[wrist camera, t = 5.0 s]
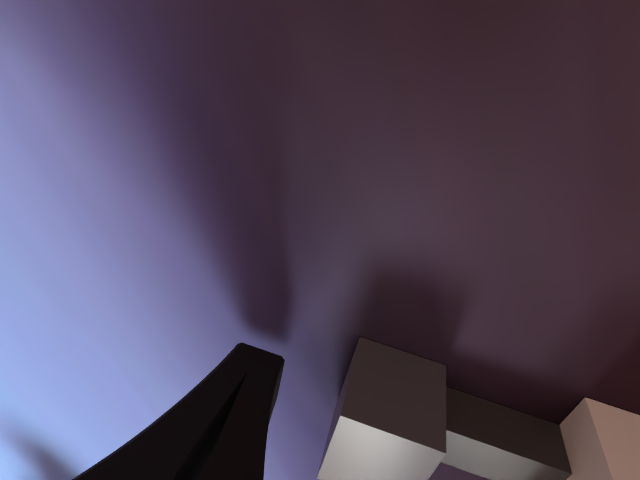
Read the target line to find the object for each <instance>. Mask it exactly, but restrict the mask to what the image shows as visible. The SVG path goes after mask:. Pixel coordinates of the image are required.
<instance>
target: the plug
mask: <svg viewBox="0 0 640 480" xmlns="http://www.w3.org/2000/svg"><path fill="white" fill-rule="evenodd" d="M440 462H442V463H445V464H448V465H450V466H453V467H456V468H459V469H461V470H464V471H467V472H470V473H472V474H475V475H478V476H481V477H484V478H486V479H489V480H640V415H637V414H634V413H631V412H628V411H625V410H622V409H619V408H616V407H613V406H610V405H607V404H604V403H601V402H598V401H595V400H592V399H589V398H586V397H585V398H584V399H583V400H582V401H581V402H580V403H579V404H578V405H577V406H576V407H575V409H574V410H573V411H572V412H571V413H570V414H569V415H568V416H567V417H566V418H565V419H564V421H563V422H562V423H561V424H560V425H558V424H555V423H552V422H549V421H546V420H543V419H540V418H538V417H535V416H532V415H529V414H526V413H523V412H520V411H517V410H514V409H511V408H508V407H505V406H502V405H499V404H496V403H493V402H490V401H487V400H484V399H481V398H479V397H476V396H473V395H470V394H467V393H464V392H461V391H458V390H455V389H452V388H449V387H446V365H443V364H440V363H437V362H434V361H431V360H428V359H425V358H422V357H419V356H416V355H413V354H410V353H407V352H404V351H401V350H398V349H395V348H392V347H389V346H386V345H383V344H380V343H377V342H374V341H371V340H368V339H365V338H362V337H359V340H358V343H357V346H356V349H355V351H354V354H353V357H352V360H351V363H350V366H349V369H348V371H347V374H346V377H345V380H344V383H343V386H342V388H341V391H340V394H339V397H338V400H337V404H336V408H335V411H334V415H333V419H332V423H331V427H330V430H329V434H328V438H327V442H326V446H325V449H324V453H323V457H322V461H321V465H320V468H319V472H318V476H317V478H318V479H320V480H428V479H429V478H430V477H431V475H432V474H433V472H434V471H435V469H436V468H437V466H438V465H439V464H440Z"/></svg>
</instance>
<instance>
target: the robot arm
mask: <svg viewBox="0 0 640 480" xmlns="http://www.w3.org/2000/svg"><path fill="white" fill-rule="evenodd" d="M284 362H285V360H284V359H283V357H282V356H279V355H276V354H273V353H270V352H268V351H265V350H262V349H259V348H256V347H253V346H250V345H247V344H244V343H239V344H237V345H236V346H235V348H234V349H233V350H232V351H231V352H230V353H229V354H228V355H227V356H226V357H225V358H224V359H223V361H222V362H221V363H220V364H219V365H218V366H217V367H216V368H215V369H214V370H213V371H211V372H210V373H209V374H208V375H207V376H206V377H205V378H204V379H203V380H202V381H201V382H200V383H199V384H198V385H197V386H195V387H194V388H193V389H192V390H191V391H190V392H189V393H188V394H187V395H186V396H184V397H183V398H182V399H181V400H180V401H179V402H178V403H176V404H175V405H174V406H173V407H172V408H170V409H169V410H168V411H167V412H165V413H164V414H163V415H162V416H161V417H159V418H158V419H157V420H156V421H155V422H153V423H152V424H151V425H149V426H148V427H147V428H146V429H144V430H143V431H142V432H140V433H139V434H138V435H136V436H135V437H134V438H132V439H131V440H130V441H128V442H127V443H125V444H124V445H123V446H121V447H120V448H119V449H117V450H116V451H114V452H113V453H111V454H110V455H109V456H107V457H106V458H104V459H103V460H101V461H100V462H98V463H97V464H95V465H94V466H92V467H91V468H89V469H88V470H86V471H85V472H83V473H81V474H80V475H78V476H77V477H75V478H74V479H72V480H263V476H264V462H265V450H266V440H267V432H268V425H269V421H270V418H271V414H272V411H273V408H274V405H275V402H276V399H277V395H278V390H279V386H280V381H281V376H282V371H283V366H284Z"/></svg>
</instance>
